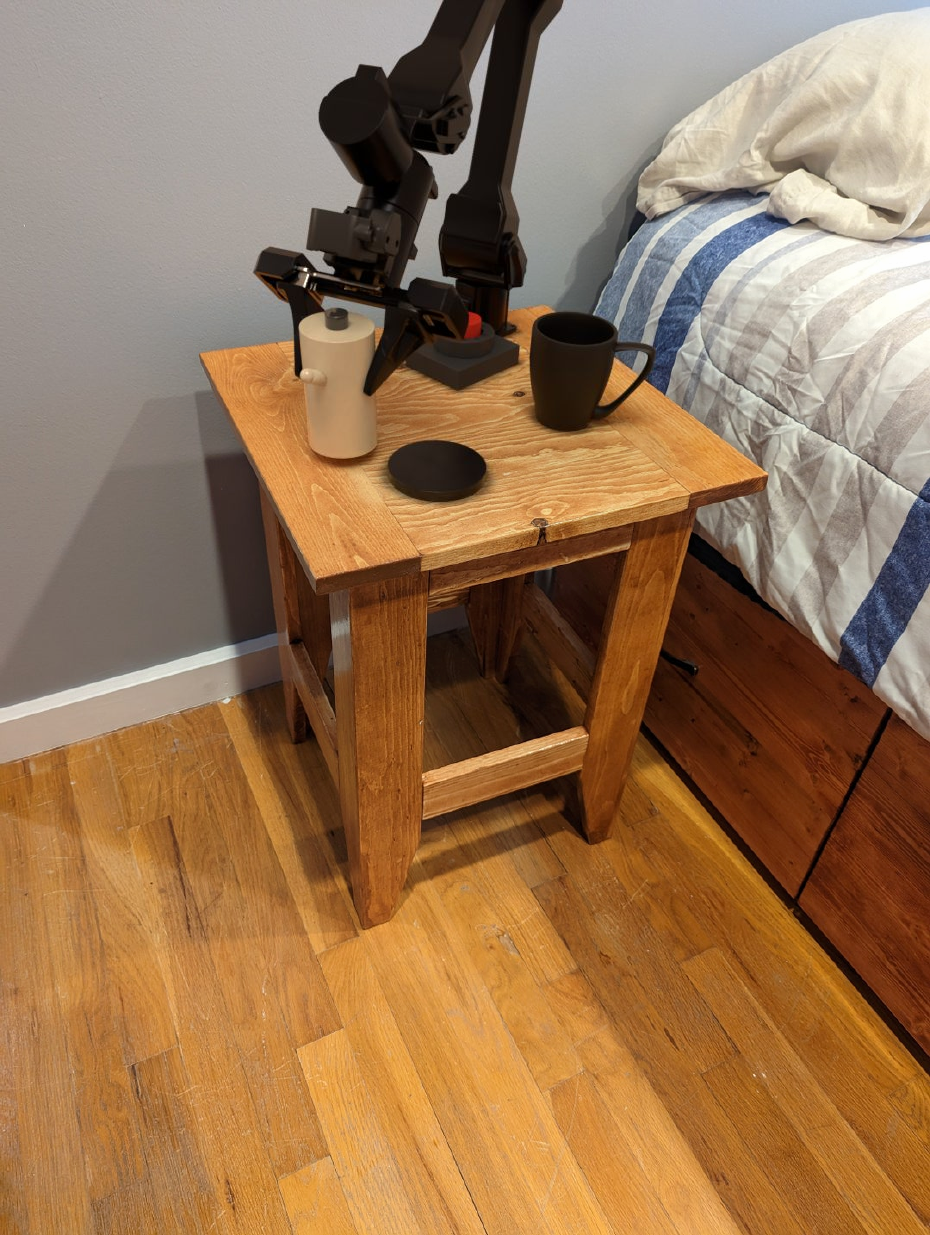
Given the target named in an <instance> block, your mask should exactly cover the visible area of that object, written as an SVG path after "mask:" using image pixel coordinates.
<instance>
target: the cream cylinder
mask: <svg viewBox="0 0 930 1235" xmlns="http://www.w3.org/2000/svg"><path fill="white" fill-rule="evenodd" d="M299 336H300V348H301V360H302V371H301V373H300V378H301V379H300V380H301V382H302V383H303V393H304V405H305V416H306V427H307V429H306V430H307V440H308V441H307V442H308V445H309V447H310V448H311V449H312V451H314V452H315V453H317V454H319V455H322V456H323V457H326V458H332V459H354V458H357V457H362V456H364V455H367V454H369V453H370V452H372V451H373V450H374V449H375V448H376V446H377V445H378V442H379V436H378V435H379V433H378V432H379V429H378V397H377V396H378V394H377V393H378V392H377V391H378V390H377V391H376V392H375V393H374V394H373V395H372V396H371V397H369V396H366V395H365V394H364V393H363V389H364V385H365V381H366V376H367V373H368V370H369V368H370V365H371V362H372V360H373V357H374V354H375V352H376V349H377V346H376V325H375V323H374V321H373V320H372V319H371V318H369V317H368V316H366V315H363V314H361V313H358V312H353V311H348V309H345V308H342V307H329V308H327V309H325V312H320V313H316V314H313V315H310V316H308V317H306V318H304V319H303V320H302V321H301V322H300V324H299Z"/></svg>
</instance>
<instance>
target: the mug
mask: <svg viewBox="0 0 930 1235" xmlns="http://www.w3.org/2000/svg"><path fill="white" fill-rule="evenodd" d="M618 339H619V330H618V328H617V327H616V326H615V325H614V323H612V322H611V321H609V320H608V319H605V318H603V317H602V316H599V315H594V314H591V313H586V312H580V311H567V310H566V311H553V312H549V313H545V314H542V315H540V316H539V317H537V318H535V320H534V321H533V323H532V326H531V336H530V344H529V346H530V347H529V356H528V358H529V359H528V360H529V361H528V362H529V377H530V379H529V380H530V388H531V392H532V399H533V404H534V409H535V417H536V420H537V421H538V422H539V423H540V424H541V425H543V426H544V427H546V428H549V429H551V430H556V431H560V432H561V431H562V432H574V431H580V430H582V429H585V428H586V427H587V426H589V424H590V422H591V421H595V422H596V421H602V420H604V419H606V418H608V417H609V416H610V415H612V414H613V413H614V412H615V411H616V410H617V409H618V408H619V407H620V406H621V405H622V404H623V403H624V402H625V401H626V400H628V398H629V397H630V396H631V395H632V394H633V393H634V392H635V391H636V390H637V389H638V388H639V387H640V386H641V385H642V383H643V382H645V380H646V379H647V378H648V377H649V375H650V374H651V372H652V370H653V368H654V364H655V361H656V357H657V350H656V348H655V347H654V346H653V345H651V344H647V343H645V342H635V341H618ZM625 351H636V352H641V353H644V354H646V356H647V359H646V362H645V365H644V366H643V368H642V370H641V372H640V373H639V374H638V376H637V377H636V378H635V379H634V380H633V382H631V384H630V385H629V387H627V388H626V390H625V391H624V392H622V393H621V394H620V395H619V396H618V397H617V398H615V399H614V400H613V401H611V402H609V403H607V404H604V405H600V402H601V400H602V397H603V395H604V393H605V390H606V389H607V386H608V383H609V380H610V377H611V373H612V370H613V366H614V361H615V356H616V353H619V352H625Z"/></svg>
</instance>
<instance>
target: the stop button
mask: <svg viewBox="0 0 930 1235" xmlns="http://www.w3.org/2000/svg"><path fill="white" fill-rule="evenodd" d="M468 313H469V325H468V328H467V331H466V334H465V337H464V338H475V337H477V336H480V334H481V317H480V316H479V315H477V314H475V313H472V312H468Z"/></svg>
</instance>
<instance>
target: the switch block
mask: <svg viewBox="0 0 930 1235" xmlns="http://www.w3.org/2000/svg"><path fill="white" fill-rule="evenodd" d="M434 337H435V336H434ZM520 348H521V345H520V344H519V343H516V342H514V341H512V340H509V339H507V338H504V337H503V336H502V337H500V336H498V335H495V331H494V329H493V328H492V327H491V325H489V324H487V323H485V322H482V321H481V334H480V336H477V337H475V338H464V340H463V341H460V342H457V341H453V340H449V339H444V338H440V337H435V342H434V344H433V345H430V344H424V345H423V346H422V347H420V348H419V349H418V350H417V351H416V352H415V353H413V354H412V355H411V356H410V357H409V358H408V359H406V360H405V366H407V367H408V368H410V369H412V370H415V371H417V372H418V373H420V374H422V375H425V376H427V377H428V378H431V379H433V380H435V381H437V382H440V383H442V384H444V385H446V386H448V387H450V388H452V389H453V390H456V391H460V390H462V389H464V388H467V387H469V386H471V385H473V384H476V383H478V382H480V381H482V380H485V379H487V378H488V377H491V376H493V375H495V374H498V373H500V372H502V371H504V370H507V369H509V368H511V367H513V366H515V365H517V364H519V360H520Z"/></svg>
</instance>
